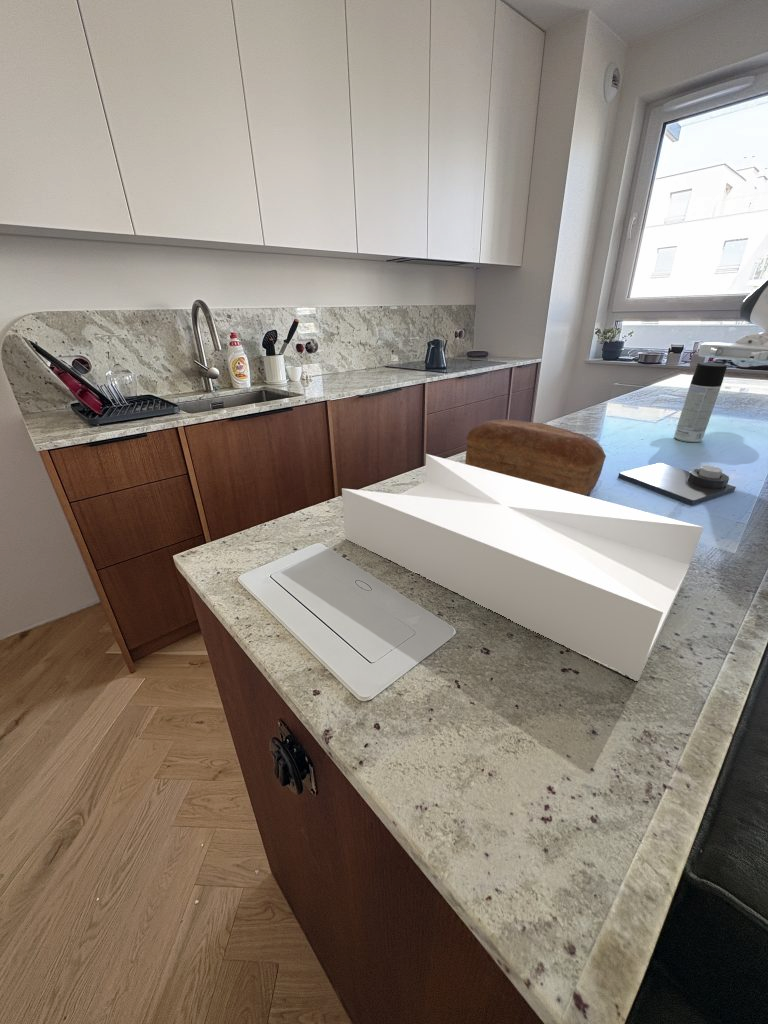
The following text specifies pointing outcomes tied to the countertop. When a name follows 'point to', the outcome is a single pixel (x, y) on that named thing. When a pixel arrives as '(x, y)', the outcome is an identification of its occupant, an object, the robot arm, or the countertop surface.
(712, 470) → the power button
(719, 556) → the countertop surface
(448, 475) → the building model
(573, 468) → the bread
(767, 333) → the robot arm
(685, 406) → the spray can
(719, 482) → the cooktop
